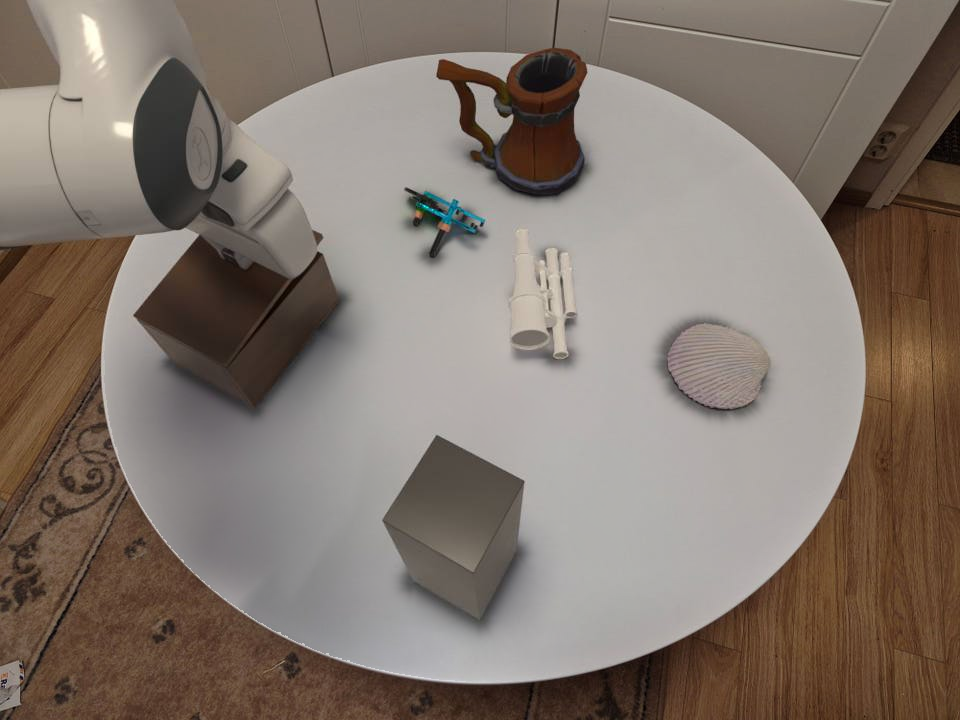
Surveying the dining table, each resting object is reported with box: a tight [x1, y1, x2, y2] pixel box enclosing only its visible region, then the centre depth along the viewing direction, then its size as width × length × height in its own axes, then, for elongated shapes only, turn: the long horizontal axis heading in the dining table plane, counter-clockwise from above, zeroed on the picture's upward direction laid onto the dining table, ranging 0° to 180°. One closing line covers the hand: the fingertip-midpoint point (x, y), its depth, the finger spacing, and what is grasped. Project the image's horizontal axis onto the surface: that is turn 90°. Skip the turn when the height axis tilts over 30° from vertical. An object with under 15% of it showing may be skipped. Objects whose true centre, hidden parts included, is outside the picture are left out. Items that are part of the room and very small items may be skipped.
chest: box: [136, 250, 341, 409], centre depth 72 cm, size 15×11×9 cm
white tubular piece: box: [508, 228, 578, 360], centre depth 74 cm, size 8×14×5 cm
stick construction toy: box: [403, 186, 486, 257], centre depth 81 cm, size 12×7×8 cm
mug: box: [435, 47, 589, 195], centre depth 81 cm, size 18×12×15 cm, turn 83°
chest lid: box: [132, 229, 324, 368], centre depth 66 cm, size 16×11×4 cm
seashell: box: [666, 322, 772, 410], centre depth 71 cm, size 10×6×10 cm
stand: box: [381, 434, 526, 621], centre depth 54 cm, size 7×7×20 cm
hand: (239, 259), depth 67 cm, fingers closed, pressing on chest lid
